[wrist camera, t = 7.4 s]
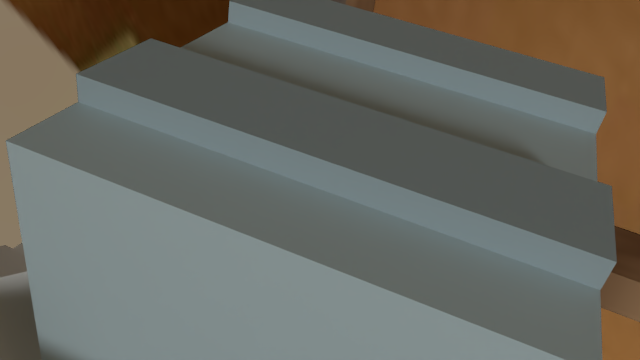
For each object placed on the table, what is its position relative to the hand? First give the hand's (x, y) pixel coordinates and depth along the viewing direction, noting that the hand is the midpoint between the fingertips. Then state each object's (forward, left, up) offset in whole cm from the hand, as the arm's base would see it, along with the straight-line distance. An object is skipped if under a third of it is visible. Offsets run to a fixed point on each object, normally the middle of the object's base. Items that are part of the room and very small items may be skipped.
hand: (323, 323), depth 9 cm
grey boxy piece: (0, 0, -3) cm, 3 cm away
